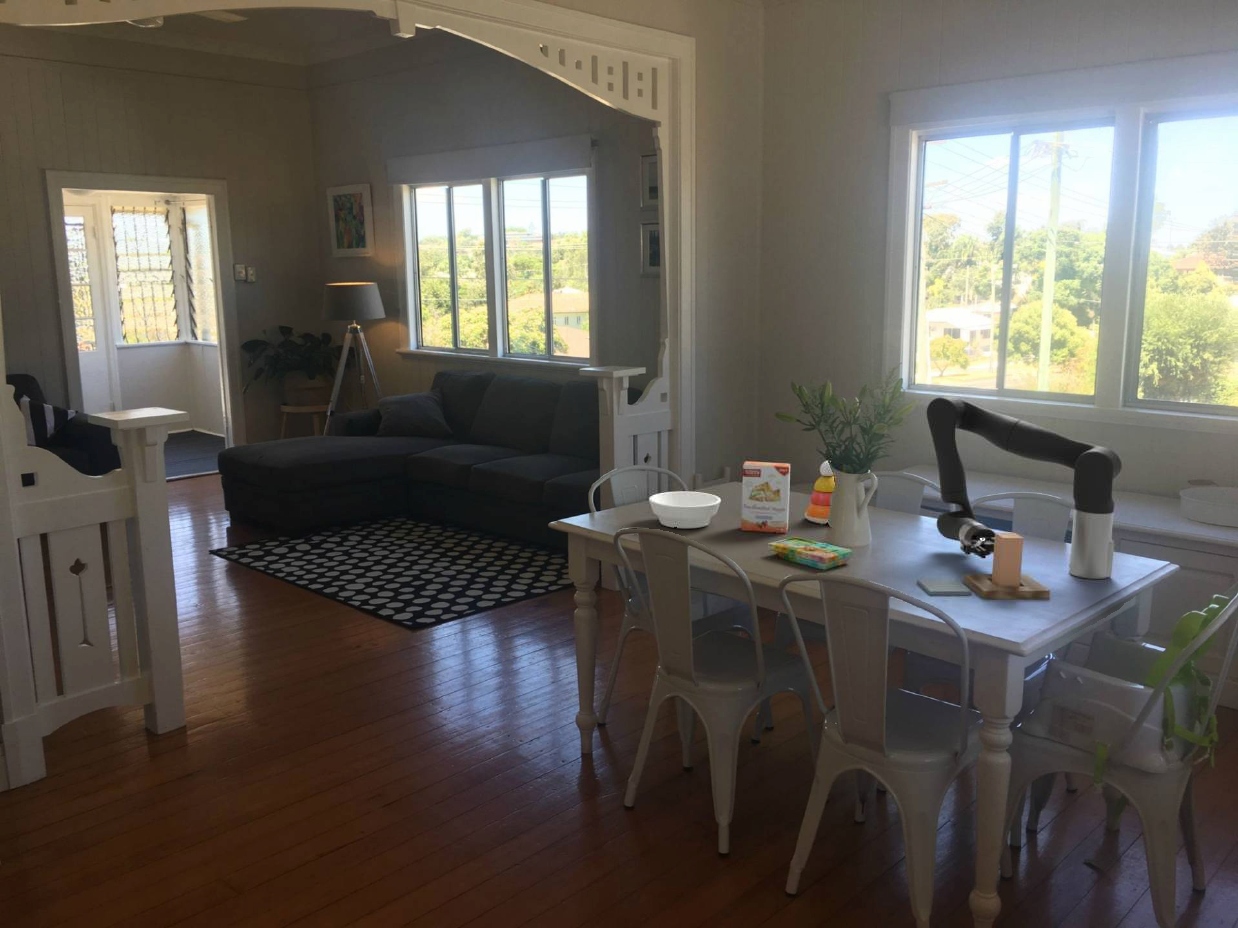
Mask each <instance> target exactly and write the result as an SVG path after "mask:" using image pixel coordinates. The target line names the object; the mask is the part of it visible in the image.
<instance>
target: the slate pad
mask: <svg viewBox="0 0 1238 928" xmlns="http://www.w3.org/2000/svg"><path fill="white" fill-rule="evenodd" d="M917 584H918V586H920V588H922V589H923V590H924V591H925V590H926V591H925V592H926V593H927V592H928V593H927V594H928V595H929V594H930V595H929V596H971V595H972V590H970V589H969V588H968V587H967V585H964V584H963V582H961V581H960V580H959V579H957V578H951V579H950V578H949V579H948V578H947V579H946V578H943V579H941V578H936V579H935V578H930V579H929V578H928V579H925V578H923V579H922V578H921V579H917Z"/></svg>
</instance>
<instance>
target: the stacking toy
mask: <svg viewBox="0 0 1238 928" xmlns="http://www.w3.org/2000/svg"><path fill="white" fill-rule="evenodd" d="M828 461H829V460H825V461H824V462H822V464H820V466H819V467H820V468H819V471H820V472H819V473H820V475H822V476H820V477H819V478H818V479H817V480H816V481H815V483H814V486H813V489H814V490H813V492H812V493H811V496H810V503H809V505H808V507H807V511H806V512H805V514H804V516H805V518H806V519H807V520H808V521H810V522H813V523H817V524H819V523H820V524H819V525H825V524H826V523H827V522H828V515H829V511H830V498H831V496H832V493H833V491H834V487H835V482H834V477H835V476H834V475H835V473H834V474H833V472H832V470H831V468H830V465H829V463H828Z"/></svg>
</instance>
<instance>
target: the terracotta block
mask: <svg viewBox="0 0 1238 928" xmlns="http://www.w3.org/2000/svg"><path fill="white" fill-rule="evenodd" d="M994 533H995V541H994V554H993V555H992V556H993V559H992V571H991V572H992V573H991V574H992V583H993V584H995V585H996V586H997V587H1009V586H1020V577H1021V574H1022V563H1023V562H1022V560H1023V546H1024V537H1023V536H1021V535H1019V534H1018V533H1016V532H994Z"/></svg>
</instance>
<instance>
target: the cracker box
mask: <svg viewBox="0 0 1238 928" xmlns="http://www.w3.org/2000/svg"><path fill="white" fill-rule="evenodd" d="M742 466H743V467H742V489H741V490H742V493H741V494H742V495H741V521H740V522H741V523H740V524H741V525H740V526H741V527H740V531H746V532H761V533H762V532H763V533H764V532H765V533H773V532H776V533H775V534H787V533H788V529H789V515H790V513H789V512H790V484H791V483H790V481H791V463H785V462H784V463H783V462H764V461H762V462H761V461H747V460H746V461H744V462H743V465H742Z"/></svg>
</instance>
